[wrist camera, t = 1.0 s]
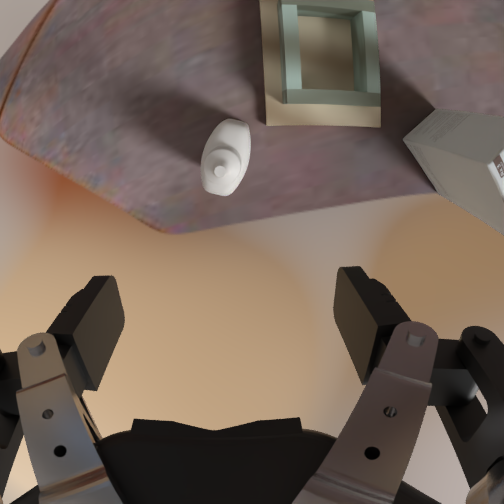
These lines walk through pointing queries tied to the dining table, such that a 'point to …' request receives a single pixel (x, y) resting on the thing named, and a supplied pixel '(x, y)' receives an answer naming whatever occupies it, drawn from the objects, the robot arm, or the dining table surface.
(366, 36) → the frame
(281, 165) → the dining table surface
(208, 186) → the eye dropper bottle
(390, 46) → the dining table surface
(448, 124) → the skincare box
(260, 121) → the dining table surface
